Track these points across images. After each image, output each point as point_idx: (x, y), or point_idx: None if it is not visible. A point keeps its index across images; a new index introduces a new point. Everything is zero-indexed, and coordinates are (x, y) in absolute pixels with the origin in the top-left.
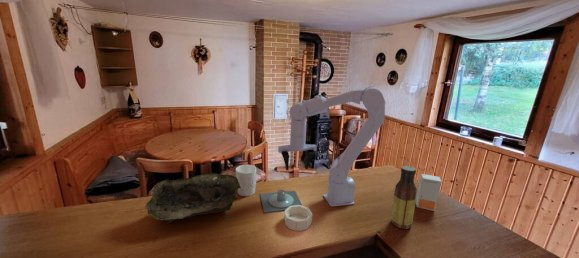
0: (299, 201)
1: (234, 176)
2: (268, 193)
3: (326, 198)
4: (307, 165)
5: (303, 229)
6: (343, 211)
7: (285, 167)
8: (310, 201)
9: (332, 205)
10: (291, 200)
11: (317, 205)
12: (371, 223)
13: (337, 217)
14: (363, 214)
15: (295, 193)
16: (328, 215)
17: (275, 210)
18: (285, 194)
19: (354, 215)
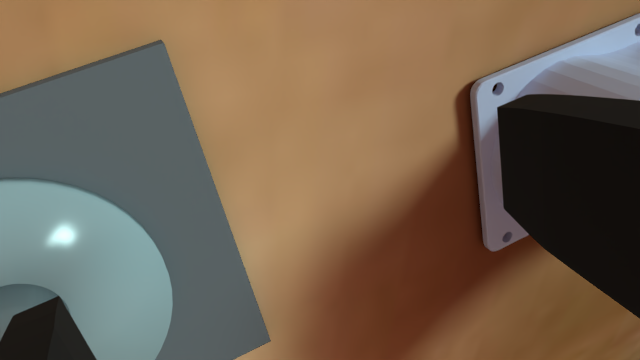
0: (232, 264)
1: None
2: None
3: (486, 156)
4: (592, 267)
5: None
6: (543, 269)
7: (4, 340)
8: (336, 211)
9: (501, 247)
10: (149, 306)
11: (387, 253)
12: (631, 327)
13: (487, 343)
14: None
15: (177, 117)
16: (439, 344)
17: None
18: (49, 210)
19: (586, 289)
